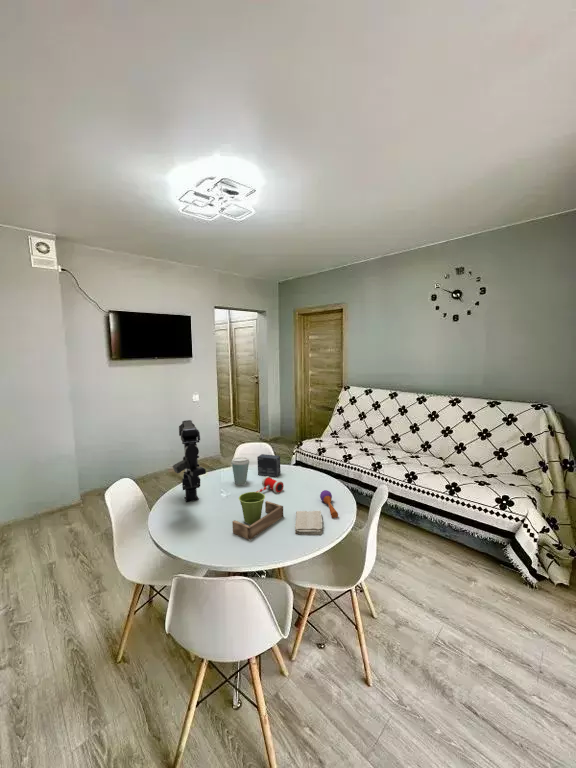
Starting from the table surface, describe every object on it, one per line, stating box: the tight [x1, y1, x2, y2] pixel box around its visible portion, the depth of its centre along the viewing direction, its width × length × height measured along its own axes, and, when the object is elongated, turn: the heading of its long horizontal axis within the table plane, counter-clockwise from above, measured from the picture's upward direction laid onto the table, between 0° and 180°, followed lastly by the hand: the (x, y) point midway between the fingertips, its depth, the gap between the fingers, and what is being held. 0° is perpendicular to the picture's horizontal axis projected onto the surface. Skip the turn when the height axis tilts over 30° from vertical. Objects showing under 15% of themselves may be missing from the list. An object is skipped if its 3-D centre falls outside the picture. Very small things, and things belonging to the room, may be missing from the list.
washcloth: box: [294, 510, 323, 536], centre depth 143 cm, size 12×18×3 cm, turn 178°
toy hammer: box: [255, 476, 285, 494], centre depth 175 cm, size 23×12×6 cm, turn 133°
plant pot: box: [238, 491, 266, 526], centre depth 146 cm, size 12×12×11 cm
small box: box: [256, 453, 281, 478], centre depth 203 cm, size 13×7×12 cm, turn 69°
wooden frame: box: [231, 500, 284, 541], centre depth 143 cm, size 10×23×5 cm, turn 145°
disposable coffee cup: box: [231, 456, 250, 486], centre depth 190 cm, size 11×11×15 cm
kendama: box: [319, 489, 339, 519], centre depth 157 cm, size 6×6×20 cm
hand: (192, 486), depth 154 cm, fingers closed
